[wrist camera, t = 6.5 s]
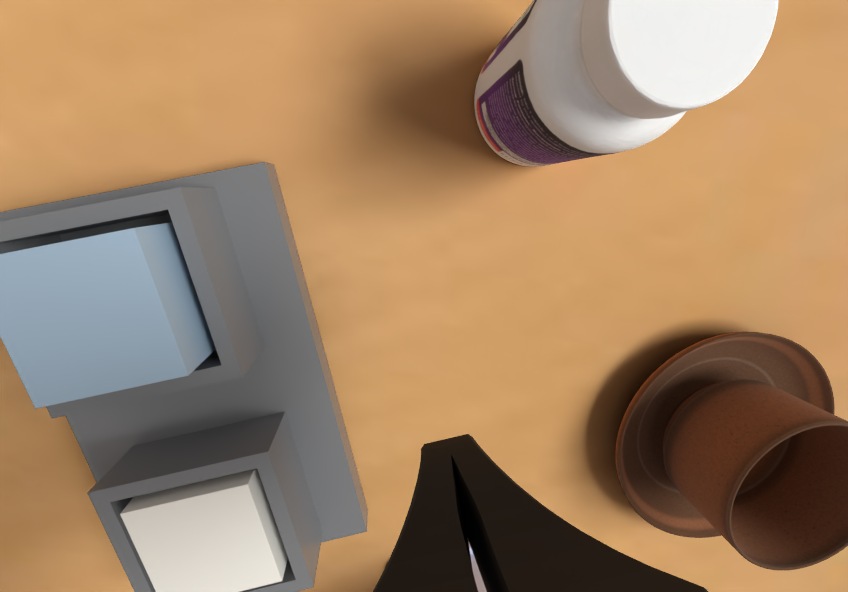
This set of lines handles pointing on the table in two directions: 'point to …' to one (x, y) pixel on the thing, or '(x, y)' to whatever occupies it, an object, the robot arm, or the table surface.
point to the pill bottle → (612, 72)
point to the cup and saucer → (740, 450)
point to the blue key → (101, 314)
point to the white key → (208, 535)
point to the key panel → (218, 368)
